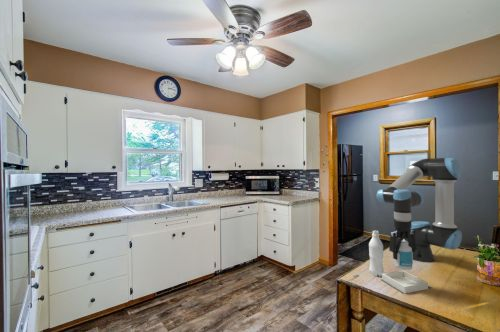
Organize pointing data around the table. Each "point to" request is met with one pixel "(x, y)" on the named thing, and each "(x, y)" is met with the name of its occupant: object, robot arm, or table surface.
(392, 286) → the mat
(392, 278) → the tray
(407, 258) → the pill bottle
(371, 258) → the water bottle
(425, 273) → the table surface
